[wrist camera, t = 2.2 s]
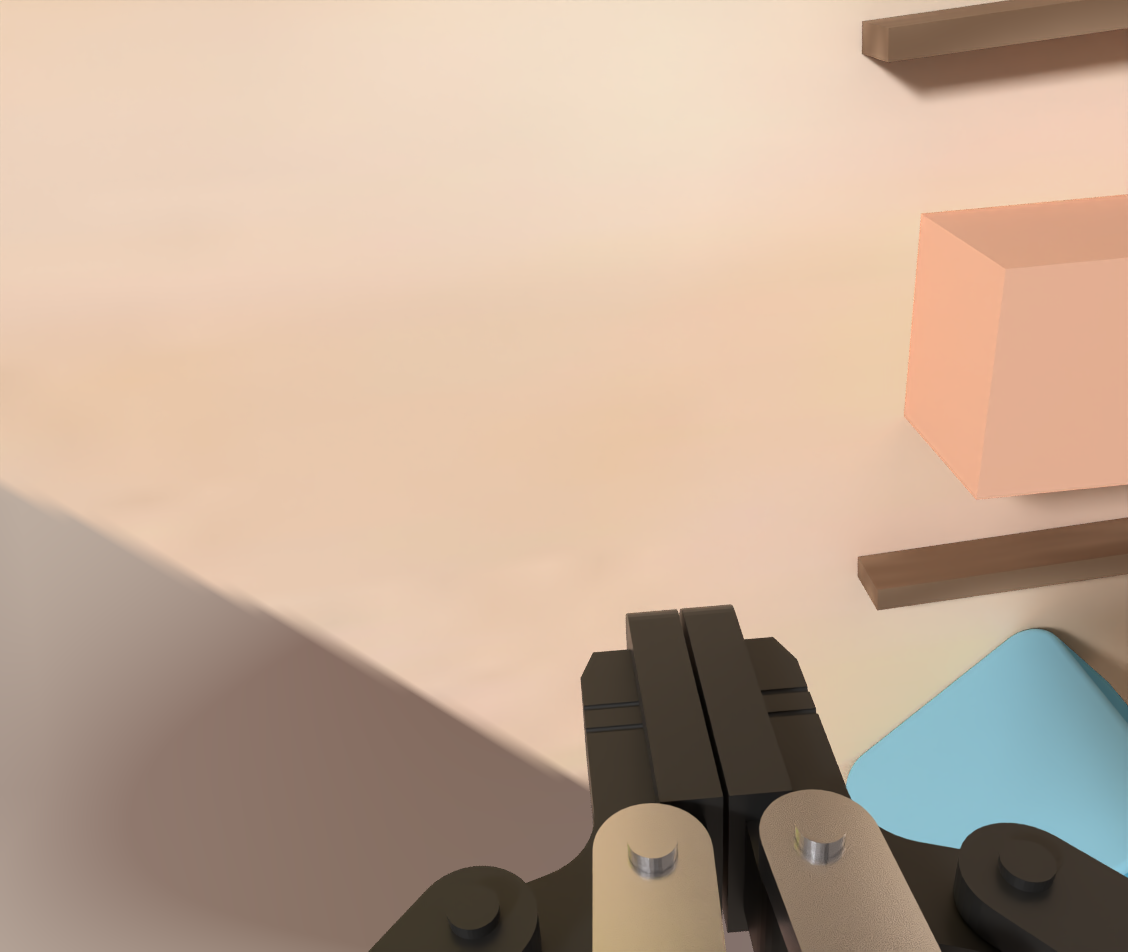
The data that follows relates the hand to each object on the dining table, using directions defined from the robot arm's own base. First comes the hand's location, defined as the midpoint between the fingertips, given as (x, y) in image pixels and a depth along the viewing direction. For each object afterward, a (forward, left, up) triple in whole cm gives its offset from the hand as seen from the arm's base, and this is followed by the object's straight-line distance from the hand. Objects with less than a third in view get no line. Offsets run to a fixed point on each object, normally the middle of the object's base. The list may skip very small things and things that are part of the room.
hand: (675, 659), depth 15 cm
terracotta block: (+6, +19, -25) cm, 32 cm away
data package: (+26, +16, -25) cm, 39 cm away
